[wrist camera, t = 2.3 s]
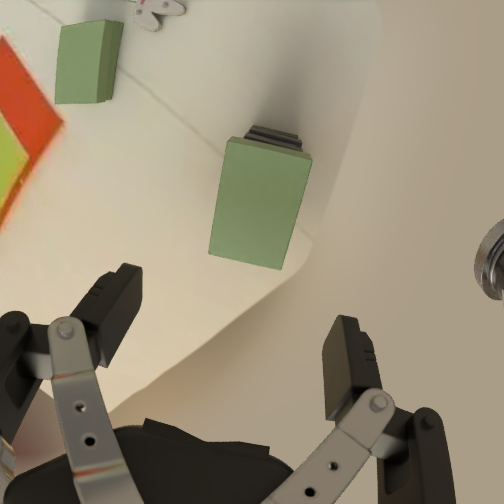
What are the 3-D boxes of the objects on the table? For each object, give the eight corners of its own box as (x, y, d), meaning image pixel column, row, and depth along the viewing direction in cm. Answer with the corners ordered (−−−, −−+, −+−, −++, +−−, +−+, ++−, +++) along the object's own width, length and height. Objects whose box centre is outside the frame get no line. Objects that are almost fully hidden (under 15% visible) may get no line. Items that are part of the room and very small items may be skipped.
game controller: (185, 30, 24) (176, 27, 22) (86, 42, 25) (72, 41, 23) (190, -20, 22) (182, -27, 19) (90, -3, 22) (77, -7, 20)
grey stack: (250, 121, 29) (236, 136, 21) (300, 133, 29) (305, 152, 21) (234, 201, 33) (216, 242, 25) (280, 211, 33) (277, 255, 25)
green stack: (81, 26, 24) (61, 23, 21) (126, 23, 24) (109, 18, 21) (70, 100, 28) (51, 104, 25) (113, 102, 28) (95, 106, 25)
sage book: (231, 135, 21) (227, 140, 19) (311, 154, 21) (313, 160, 19) (212, 242, 25) (207, 254, 24) (281, 258, 25) (280, 271, 24)
